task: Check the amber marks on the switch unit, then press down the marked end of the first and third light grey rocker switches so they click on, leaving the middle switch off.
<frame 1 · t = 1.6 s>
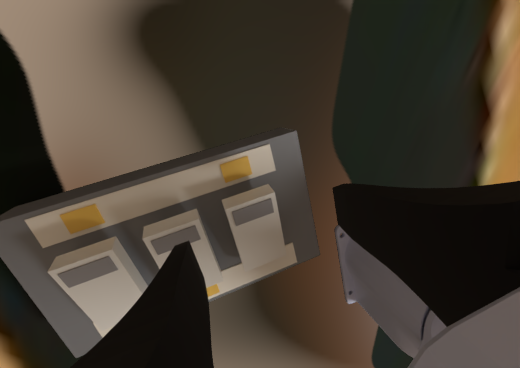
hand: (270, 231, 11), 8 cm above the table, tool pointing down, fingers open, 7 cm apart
switch a: (256, 229, 16), point 4 cm above the table, hinge at -10.0°
switch unit: (185, 224, 19), on the table
switch c: (108, 286, 14), point 4 cm above the table, hinge at -10.0°
switch b: (186, 256, 15), point 4 cm above the table, hinge at -10.0°
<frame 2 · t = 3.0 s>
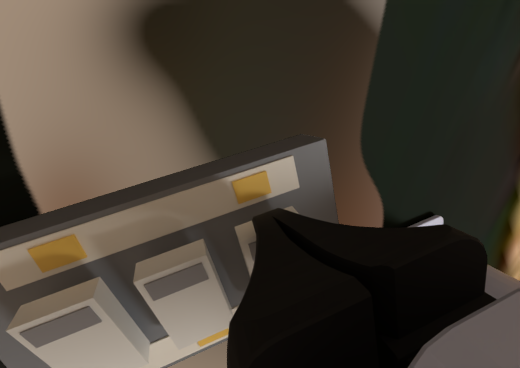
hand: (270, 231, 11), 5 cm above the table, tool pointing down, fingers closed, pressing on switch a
switch a: (276, 262, 13), point 4 cm above the table, hinge at -9.8°, touching gripper
switch unit: (188, 249, 16), on the table
switch c: (90, 338, 11), point 4 cm above the table, hinge at -10.0°
switch b: (190, 297, 12), point 4 cm above the table, hinge at -10.0°
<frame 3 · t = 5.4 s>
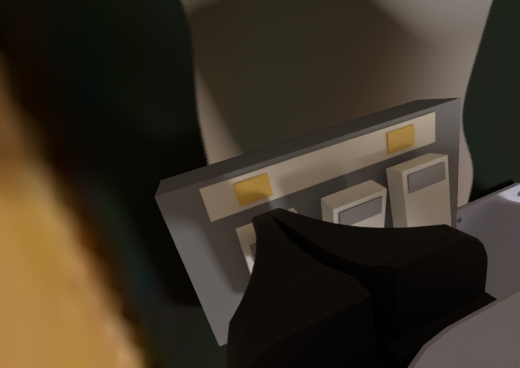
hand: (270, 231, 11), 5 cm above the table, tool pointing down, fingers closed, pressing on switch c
switch a: (420, 204, 14), point 4 cm above the table, hinge at 3.9°
switch unit: (315, 204, 17), on the table
switch c: (278, 264, 13), point 4 cm above the table, hinge at -8.2°, touching gripper
switch b: (353, 233, 13), point 4 cm above the table, hinge at -10.0°
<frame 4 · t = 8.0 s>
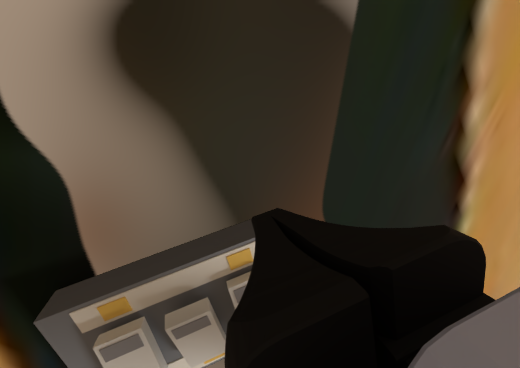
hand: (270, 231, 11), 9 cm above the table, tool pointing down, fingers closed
switch a: (256, 307, 19), point 4 cm above the table, hinge at 10.6°
switch unit: (196, 292, 22), on the table
switch c: (134, 361, 17), point 4 cm above the table, hinge at 6.5°
switch b: (199, 334, 18), point 4 cm above the table, hinge at -10.0°
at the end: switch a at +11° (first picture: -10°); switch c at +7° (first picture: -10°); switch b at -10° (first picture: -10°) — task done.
